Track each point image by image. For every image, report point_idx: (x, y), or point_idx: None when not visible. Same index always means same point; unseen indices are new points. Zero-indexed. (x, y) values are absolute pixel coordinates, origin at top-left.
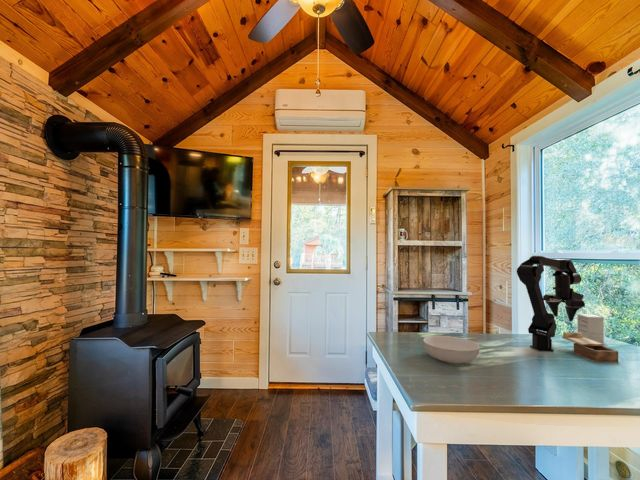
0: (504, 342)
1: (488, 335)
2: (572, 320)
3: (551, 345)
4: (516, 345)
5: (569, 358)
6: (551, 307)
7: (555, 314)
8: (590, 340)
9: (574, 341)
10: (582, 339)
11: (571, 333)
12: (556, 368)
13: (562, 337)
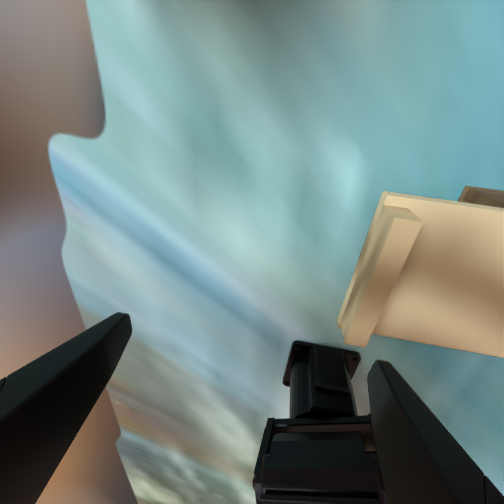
0: (221, 407)
1: (129, 392)
2: (394, 370)
3: (345, 364)
4: (260, 401)
5: (455, 369)
6: (40, 489)
7: (117, 353)
8: (501, 236)
9: (446, 345)
10: (449, 270)
11: (380, 310)
12: (499, 466)
13: (340, 323)
